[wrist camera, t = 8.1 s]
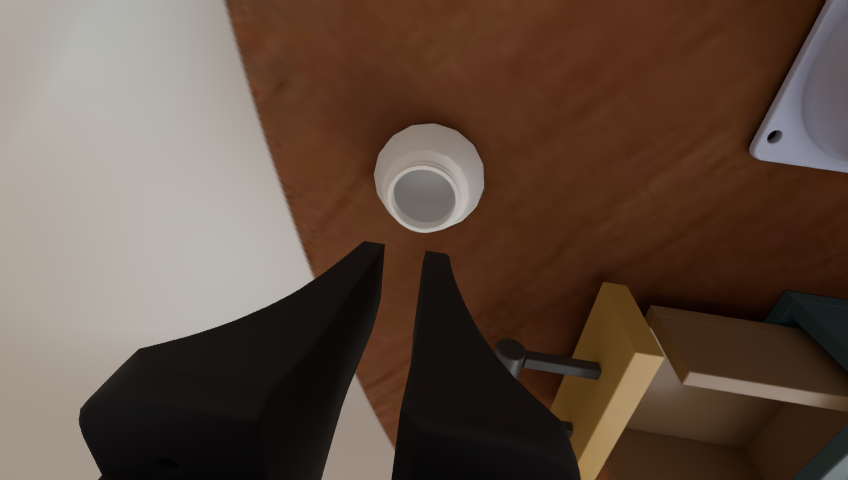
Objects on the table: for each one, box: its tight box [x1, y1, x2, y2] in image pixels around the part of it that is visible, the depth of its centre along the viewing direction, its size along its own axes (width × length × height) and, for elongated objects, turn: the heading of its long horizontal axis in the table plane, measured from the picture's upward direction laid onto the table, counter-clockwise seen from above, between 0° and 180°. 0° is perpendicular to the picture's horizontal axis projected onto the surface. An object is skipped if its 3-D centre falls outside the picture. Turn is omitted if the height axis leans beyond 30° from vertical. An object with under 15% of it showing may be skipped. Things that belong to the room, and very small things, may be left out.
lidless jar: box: [374, 123, 484, 233], centre depth 18 cm, size 5×3×5 cm
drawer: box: [494, 282, 848, 480], centre depth 21 cm, size 16×10×5 cm, turn 83°
